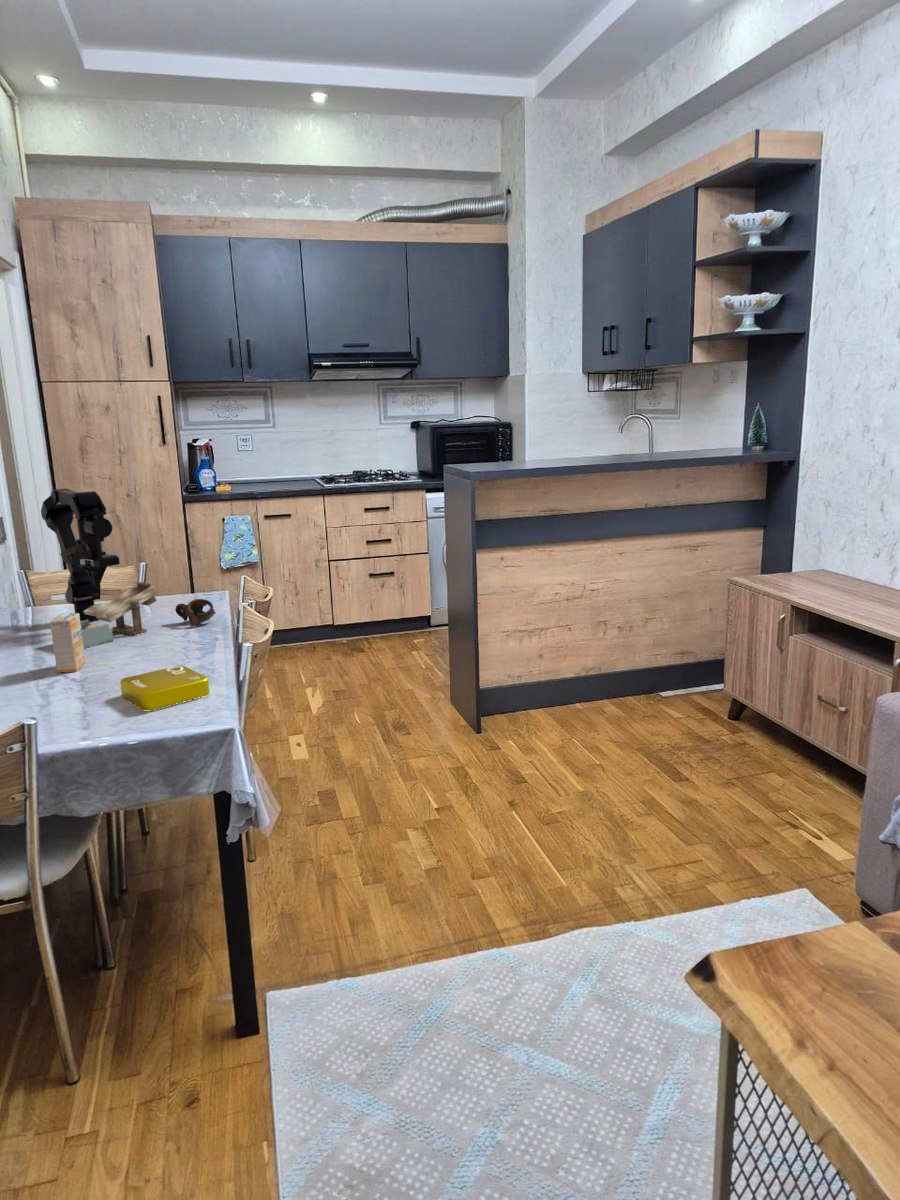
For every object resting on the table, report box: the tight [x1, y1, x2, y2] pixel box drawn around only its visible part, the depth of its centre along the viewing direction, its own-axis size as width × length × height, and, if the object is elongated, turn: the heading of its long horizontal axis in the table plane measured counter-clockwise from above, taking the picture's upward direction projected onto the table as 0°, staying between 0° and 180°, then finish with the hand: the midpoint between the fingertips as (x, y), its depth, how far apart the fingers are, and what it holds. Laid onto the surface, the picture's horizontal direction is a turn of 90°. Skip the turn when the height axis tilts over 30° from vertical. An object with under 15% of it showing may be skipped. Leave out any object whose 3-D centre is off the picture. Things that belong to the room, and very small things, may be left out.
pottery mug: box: [174, 598, 217, 627], centre depth 238 cm, size 12×10×8 cm
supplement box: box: [49, 612, 86, 674], centre depth 197 cm, size 8×5×13 cm, turn 9°
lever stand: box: [111, 597, 148, 636], centre depth 230 cm, size 4×11×10 cm, turn 54°
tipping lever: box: [83, 581, 157, 623], centre depth 232 cm, size 16×15×5 cm
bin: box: [80, 620, 114, 649], centre depth 220 cm, size 11×11×5 cm
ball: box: [85, 624, 98, 629], centre depth 222 cm, size 4×4×4 cm
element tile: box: [119, 664, 210, 711], centre depth 175 cm, size 15×15×5 cm
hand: (96, 587), depth 235 cm, fingers closed
